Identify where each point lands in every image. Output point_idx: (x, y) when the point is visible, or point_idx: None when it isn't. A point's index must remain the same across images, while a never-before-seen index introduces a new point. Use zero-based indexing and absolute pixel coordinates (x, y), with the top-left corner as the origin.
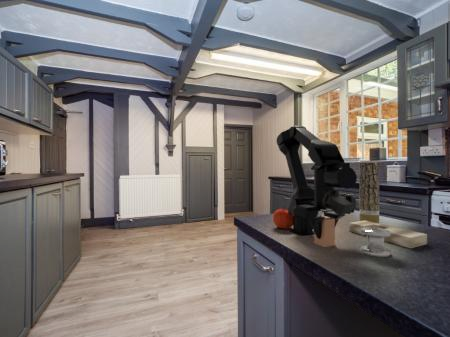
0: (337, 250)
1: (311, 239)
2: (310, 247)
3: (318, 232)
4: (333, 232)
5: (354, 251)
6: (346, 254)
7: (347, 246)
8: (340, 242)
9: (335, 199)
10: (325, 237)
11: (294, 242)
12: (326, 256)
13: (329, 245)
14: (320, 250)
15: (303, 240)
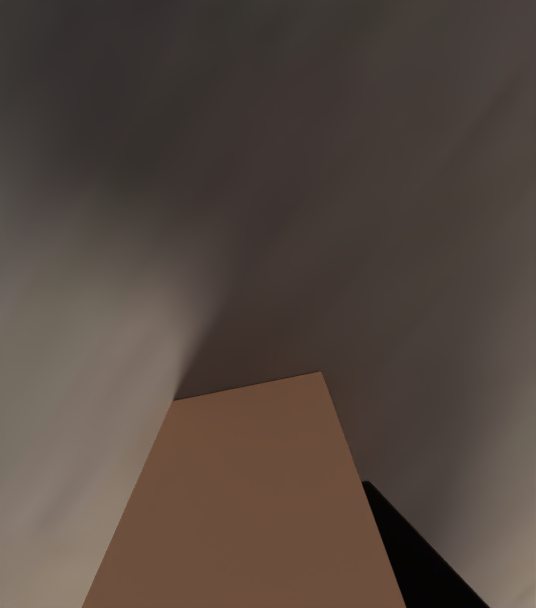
0: (244, 253)
1: None
2: (466, 399)
3: (448, 572)
4: (141, 544)
5: (54, 171)
6: (223, 93)
7: (46, 345)
8: (56, 465)
9: None
10: (331, 454)
11: (507, 540)
12: (516, 92)
13: (252, 390)
14: (432, 297)
15: None
